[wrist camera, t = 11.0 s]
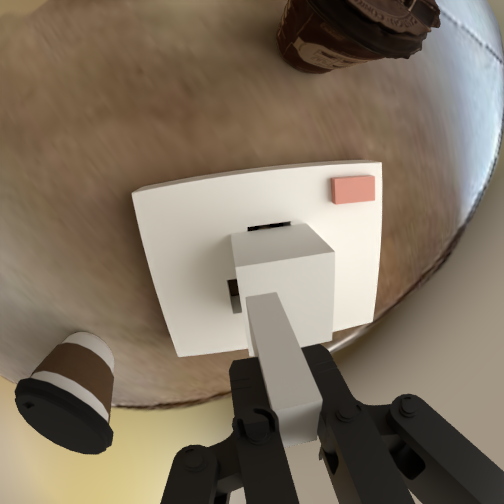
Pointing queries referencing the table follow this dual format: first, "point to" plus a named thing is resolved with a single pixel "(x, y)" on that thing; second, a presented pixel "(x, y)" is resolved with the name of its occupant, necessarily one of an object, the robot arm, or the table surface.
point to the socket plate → (237, 220)
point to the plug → (288, 277)
